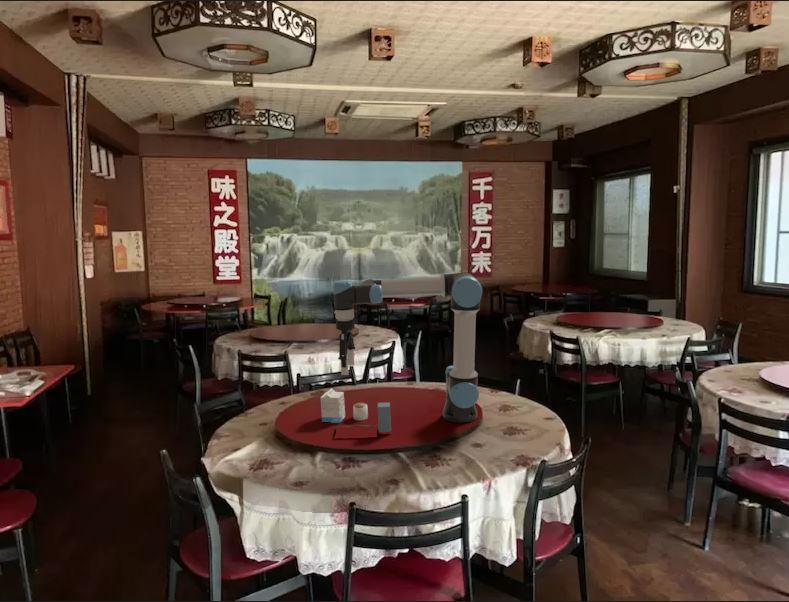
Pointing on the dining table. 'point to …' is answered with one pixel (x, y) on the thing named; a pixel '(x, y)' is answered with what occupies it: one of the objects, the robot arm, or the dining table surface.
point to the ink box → (332, 406)
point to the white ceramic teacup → (360, 411)
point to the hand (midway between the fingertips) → (348, 369)
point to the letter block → (384, 417)
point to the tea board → (359, 426)
